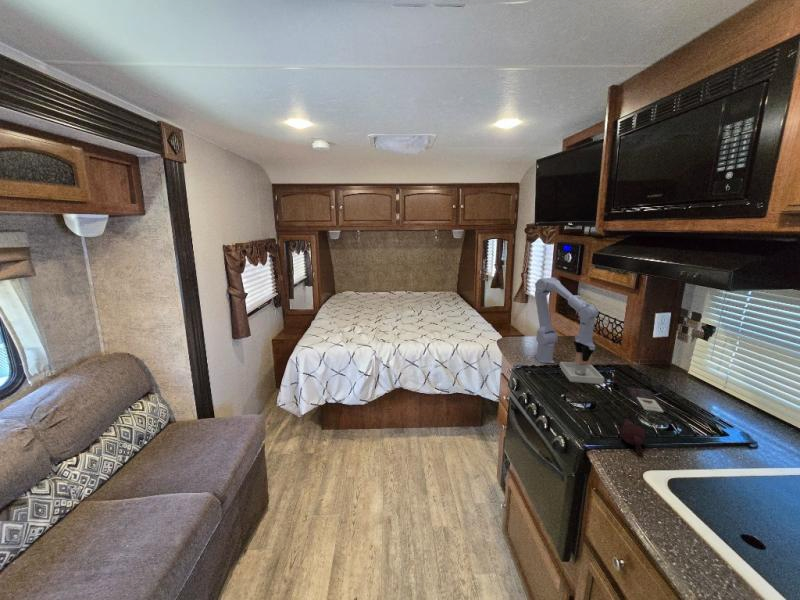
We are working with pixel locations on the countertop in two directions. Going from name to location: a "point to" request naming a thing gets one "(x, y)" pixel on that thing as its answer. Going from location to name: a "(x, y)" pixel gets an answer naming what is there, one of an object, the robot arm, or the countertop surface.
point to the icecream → (633, 435)
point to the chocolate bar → (646, 400)
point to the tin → (580, 369)
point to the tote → (590, 376)
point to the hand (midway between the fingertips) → (582, 358)
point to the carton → (580, 360)
